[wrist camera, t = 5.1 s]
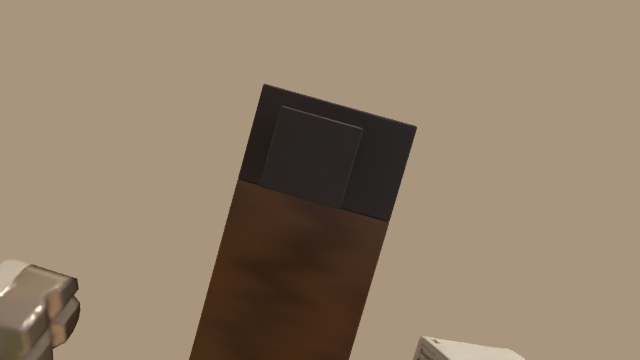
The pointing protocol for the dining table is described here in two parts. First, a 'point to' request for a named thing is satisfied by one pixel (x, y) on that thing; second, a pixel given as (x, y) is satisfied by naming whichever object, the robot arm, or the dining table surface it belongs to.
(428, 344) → the supplement box
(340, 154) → the block with square stub
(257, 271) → the stand
